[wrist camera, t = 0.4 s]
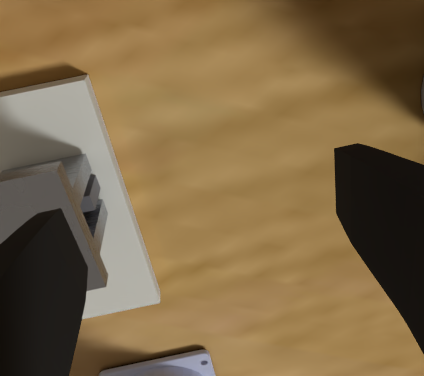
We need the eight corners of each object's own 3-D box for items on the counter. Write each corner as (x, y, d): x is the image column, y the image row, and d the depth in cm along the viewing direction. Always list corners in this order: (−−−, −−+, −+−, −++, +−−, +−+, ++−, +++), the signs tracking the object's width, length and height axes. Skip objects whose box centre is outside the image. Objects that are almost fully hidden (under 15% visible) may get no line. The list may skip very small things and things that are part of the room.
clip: (115, 232, 21) (104, 296, 17) (41, 247, 21) (13, 315, 17) (76, 129, 18) (53, 178, 14) (-10, 146, 18) (-58, 200, 14)
